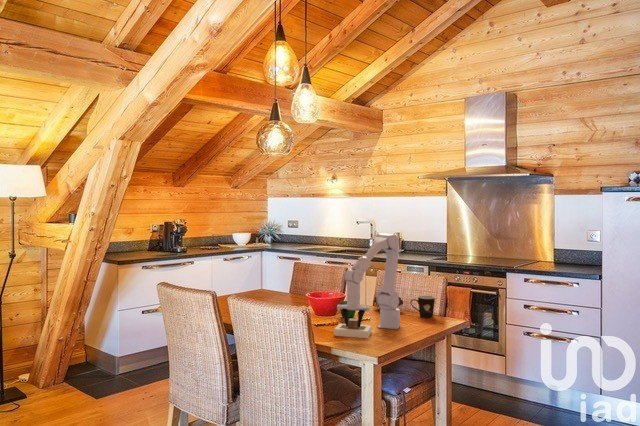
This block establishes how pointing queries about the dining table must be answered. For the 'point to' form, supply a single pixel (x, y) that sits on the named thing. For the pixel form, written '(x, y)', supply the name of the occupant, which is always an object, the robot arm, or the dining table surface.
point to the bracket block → (353, 323)
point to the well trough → (353, 331)
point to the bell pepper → (351, 312)
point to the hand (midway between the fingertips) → (353, 326)
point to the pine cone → (388, 293)
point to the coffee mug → (425, 306)
